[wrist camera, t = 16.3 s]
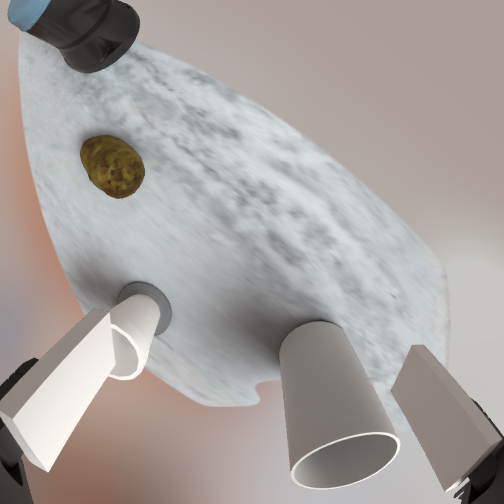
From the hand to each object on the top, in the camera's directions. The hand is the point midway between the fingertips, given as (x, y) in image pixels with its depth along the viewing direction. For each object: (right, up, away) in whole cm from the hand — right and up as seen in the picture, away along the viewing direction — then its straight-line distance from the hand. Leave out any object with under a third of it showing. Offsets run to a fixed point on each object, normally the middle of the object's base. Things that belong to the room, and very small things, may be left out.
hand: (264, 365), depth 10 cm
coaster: (-19, -5, +34) cm, 39 cm away
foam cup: (-19, -5, +34) cm, 39 cm away
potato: (-21, +18, +28) cm, 40 cm away
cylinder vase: (+10, -13, +36) cm, 40 cm away
